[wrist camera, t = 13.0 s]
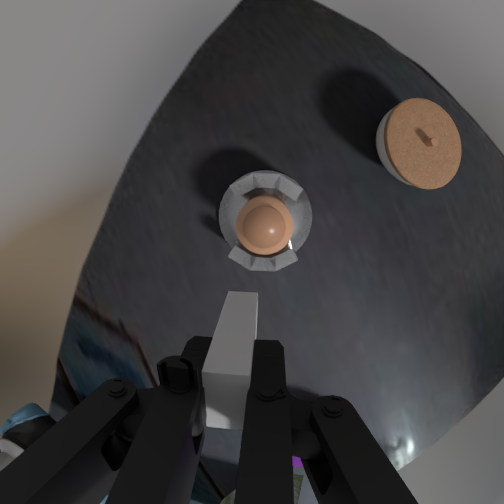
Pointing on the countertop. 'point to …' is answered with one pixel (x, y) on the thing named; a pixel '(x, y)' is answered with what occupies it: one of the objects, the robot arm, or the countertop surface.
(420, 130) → the lidded jar
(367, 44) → the countertop surface
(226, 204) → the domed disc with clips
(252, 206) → the tan tapered cylinder
